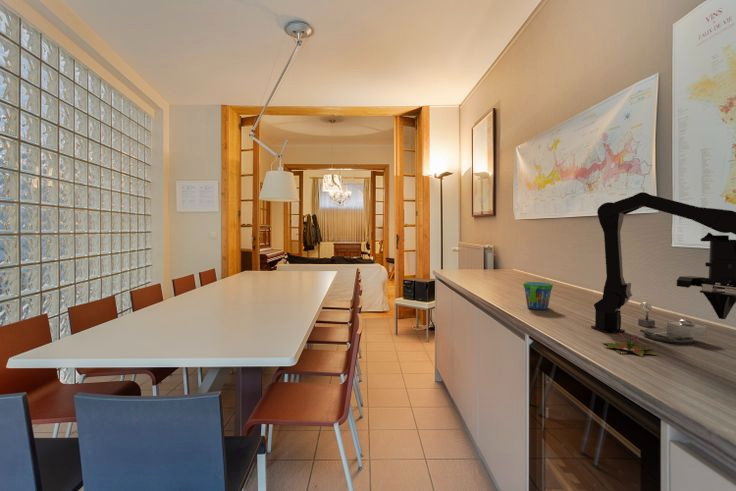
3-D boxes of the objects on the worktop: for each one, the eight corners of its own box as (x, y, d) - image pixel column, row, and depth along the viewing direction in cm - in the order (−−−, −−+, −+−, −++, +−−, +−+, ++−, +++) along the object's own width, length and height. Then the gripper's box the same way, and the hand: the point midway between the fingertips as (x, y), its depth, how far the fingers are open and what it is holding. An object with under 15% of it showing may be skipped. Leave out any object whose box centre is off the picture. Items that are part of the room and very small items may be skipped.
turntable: (673, 345, 93) (673, 339, 93) (633, 334, 104) (633, 328, 104) (703, 342, 96) (704, 336, 96) (661, 331, 106) (661, 325, 106)
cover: (690, 337, 94) (691, 323, 94) (666, 331, 100) (667, 318, 100) (706, 336, 96) (707, 322, 96) (682, 330, 102) (682, 317, 102)
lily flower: (670, 360, 83) (671, 342, 83) (615, 358, 85) (616, 339, 85) (640, 345, 95) (640, 328, 95) (592, 342, 97) (593, 326, 97)
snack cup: (531, 303, 149) (531, 280, 148) (558, 307, 141) (558, 282, 141) (516, 309, 138) (516, 283, 138) (544, 313, 130) (544, 286, 130)
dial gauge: (647, 327, 111) (648, 303, 111) (638, 324, 114) (638, 301, 114) (655, 326, 112) (655, 302, 112) (645, 324, 115) (645, 301, 115)
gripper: (797, 261, 82) (794, 326, 83) (705, 256, 100) (702, 309, 101) (765, 262, 80) (762, 329, 80) (676, 256, 98) (673, 311, 98)
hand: (722, 318), depth 90 cm, fingers closed
